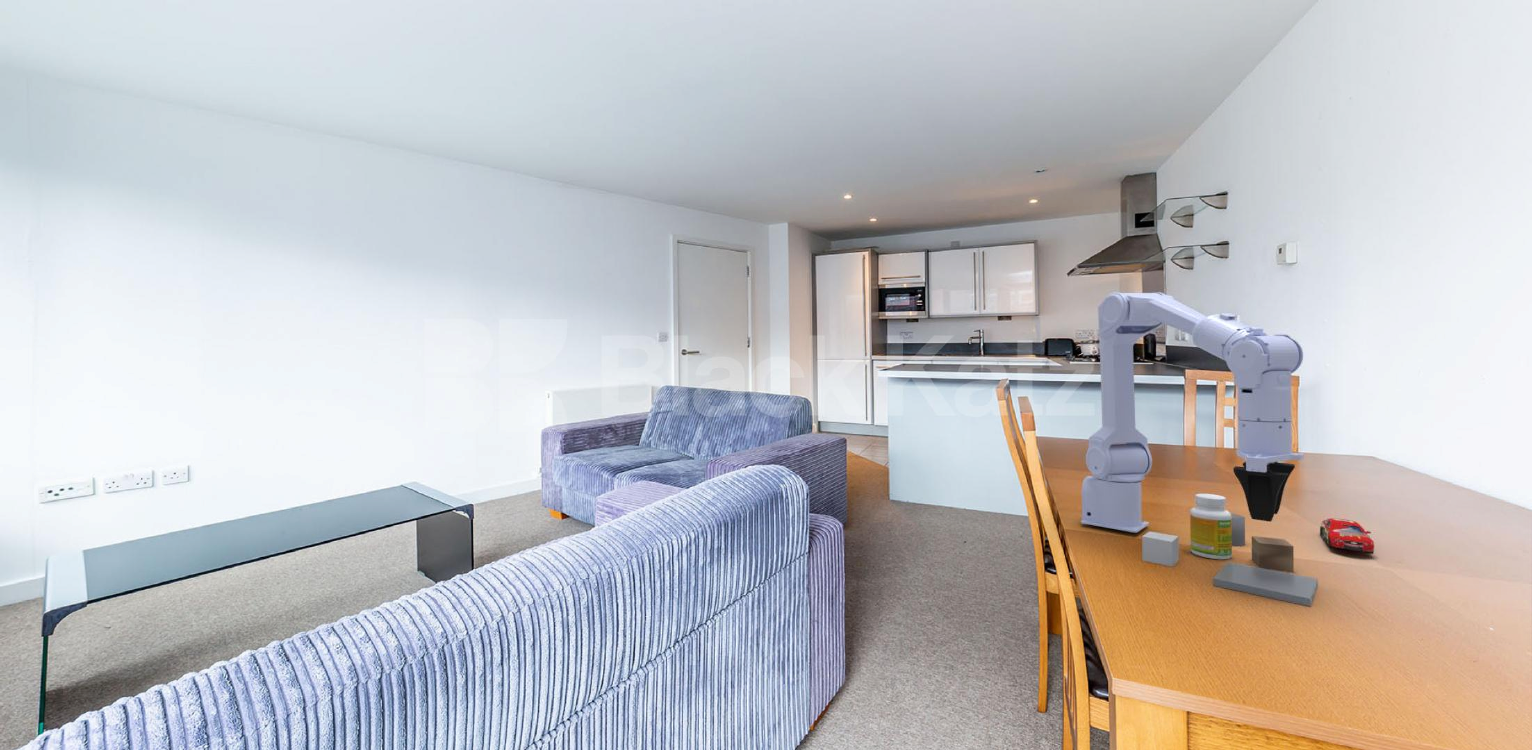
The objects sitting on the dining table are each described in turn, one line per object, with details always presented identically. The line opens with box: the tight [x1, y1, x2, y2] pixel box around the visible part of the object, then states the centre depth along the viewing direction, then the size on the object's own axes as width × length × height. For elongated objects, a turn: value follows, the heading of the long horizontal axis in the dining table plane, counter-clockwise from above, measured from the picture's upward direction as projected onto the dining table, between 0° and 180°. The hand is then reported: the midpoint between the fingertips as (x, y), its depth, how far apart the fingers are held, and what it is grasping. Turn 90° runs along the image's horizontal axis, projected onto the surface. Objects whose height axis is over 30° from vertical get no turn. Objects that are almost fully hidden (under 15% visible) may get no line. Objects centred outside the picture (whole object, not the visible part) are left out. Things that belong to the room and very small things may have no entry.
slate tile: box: [1212, 561, 1319, 607], centre depth 81 cm, size 10×10×1 cm
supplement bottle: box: [1189, 493, 1233, 560], centre depth 94 cm, size 5×5×10 cm
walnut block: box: [1251, 535, 1295, 573], centre depth 88 cm, size 4×4×4 cm
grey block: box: [1141, 531, 1180, 567], centre depth 92 cm, size 4×4×4 cm
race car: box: [1319, 518, 1375, 555], centre depth 96 cm, size 13×5×4 cm, turn 141°
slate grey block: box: [1230, 513, 1246, 547], centre depth 99 cm, size 4×4×5 cm
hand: (1264, 516), depth 81 cm, fingers open, 5 cm apart
